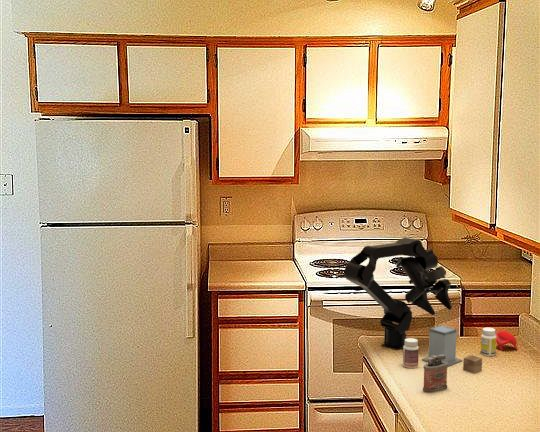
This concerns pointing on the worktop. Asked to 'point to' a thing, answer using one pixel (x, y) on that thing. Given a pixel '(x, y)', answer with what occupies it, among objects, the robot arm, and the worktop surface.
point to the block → (472, 364)
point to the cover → (442, 342)
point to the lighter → (435, 374)
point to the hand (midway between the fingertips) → (442, 311)
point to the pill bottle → (410, 353)
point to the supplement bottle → (488, 342)
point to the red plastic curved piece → (505, 339)
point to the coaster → (448, 362)
